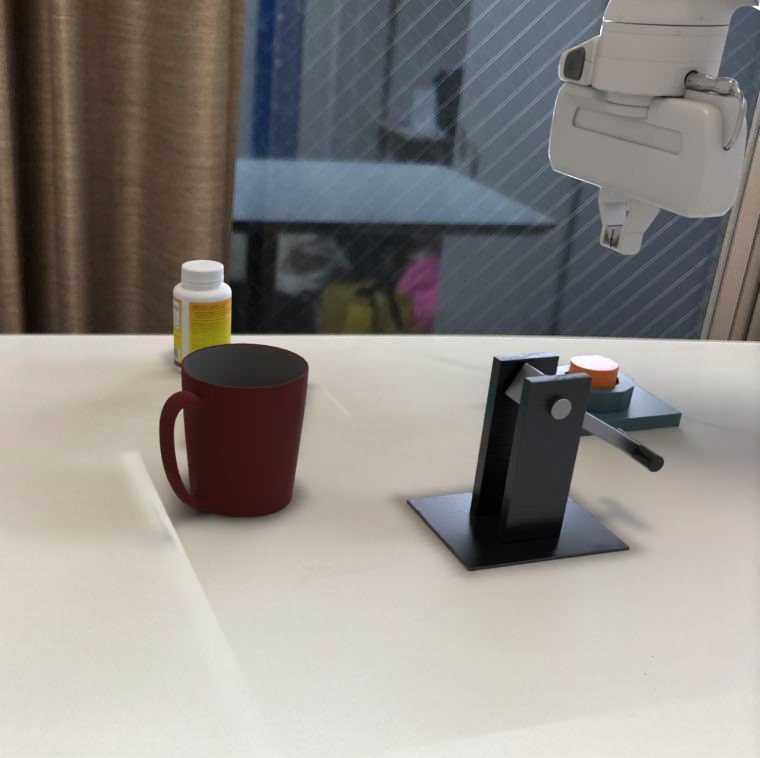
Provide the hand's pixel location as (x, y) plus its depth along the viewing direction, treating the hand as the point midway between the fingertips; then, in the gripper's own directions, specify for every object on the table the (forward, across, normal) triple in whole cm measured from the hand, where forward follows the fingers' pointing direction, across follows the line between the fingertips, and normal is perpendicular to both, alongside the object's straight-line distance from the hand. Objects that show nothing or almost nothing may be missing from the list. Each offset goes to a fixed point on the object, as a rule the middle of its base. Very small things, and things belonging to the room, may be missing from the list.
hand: (618, 250), depth 85 cm
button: (+11, 0, 0) cm, 11 cm away
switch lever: (+7, -18, +13) cm, 23 cm away
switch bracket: (+15, -18, +17) cm, 29 cm away
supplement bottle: (+15, +20, +30) cm, 39 cm away
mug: (+15, -9, +36) cm, 40 cm away
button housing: (+15, 0, 0) cm, 15 cm away
